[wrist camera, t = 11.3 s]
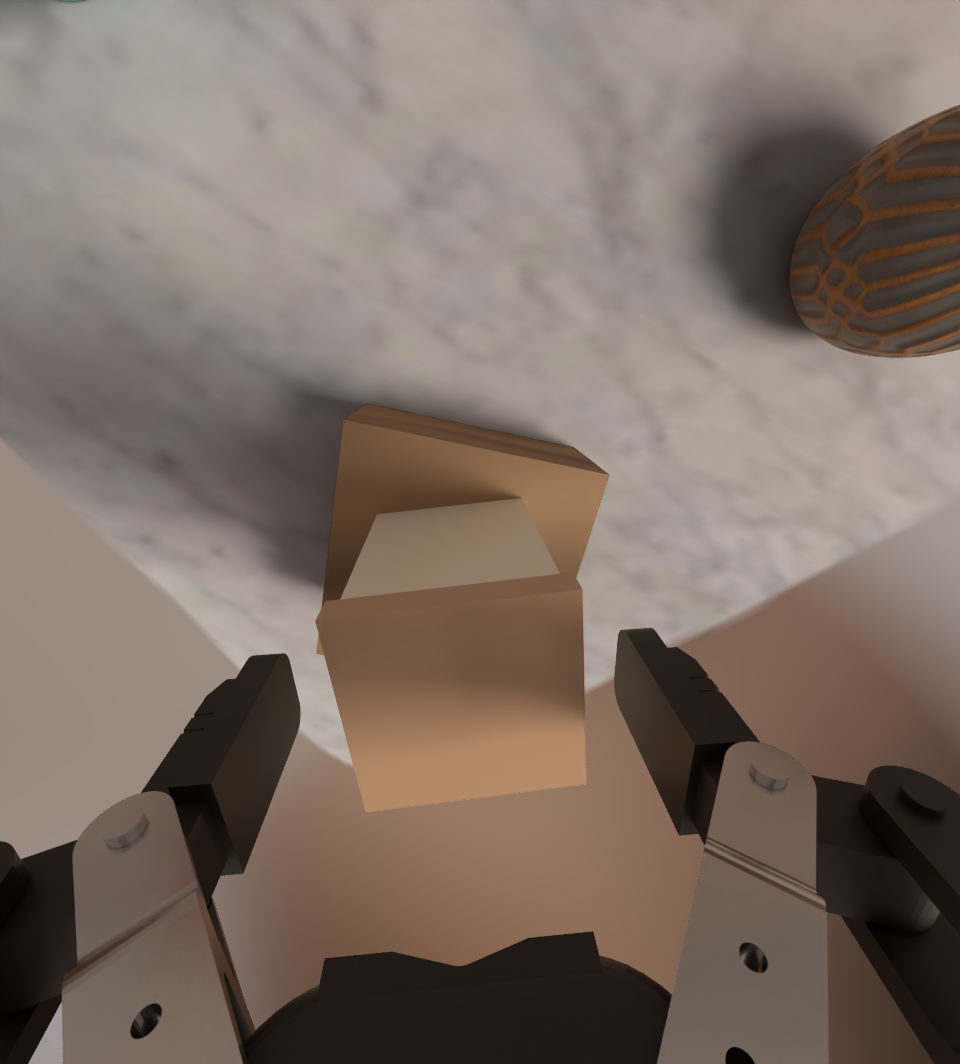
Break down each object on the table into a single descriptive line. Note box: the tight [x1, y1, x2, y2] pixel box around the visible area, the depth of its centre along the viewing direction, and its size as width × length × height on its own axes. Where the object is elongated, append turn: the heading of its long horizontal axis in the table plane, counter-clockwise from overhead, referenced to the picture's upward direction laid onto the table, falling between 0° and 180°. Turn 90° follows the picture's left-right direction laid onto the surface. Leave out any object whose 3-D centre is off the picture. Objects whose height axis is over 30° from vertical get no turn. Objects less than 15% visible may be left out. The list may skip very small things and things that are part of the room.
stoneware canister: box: [316, 498, 586, 812], centre depth 14 cm, size 5×5×7 cm
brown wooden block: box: [316, 404, 609, 655], centre depth 19 cm, size 9×9×5 cm
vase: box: [790, 105, 960, 358], centre depth 14 cm, size 7×7×9 cm
